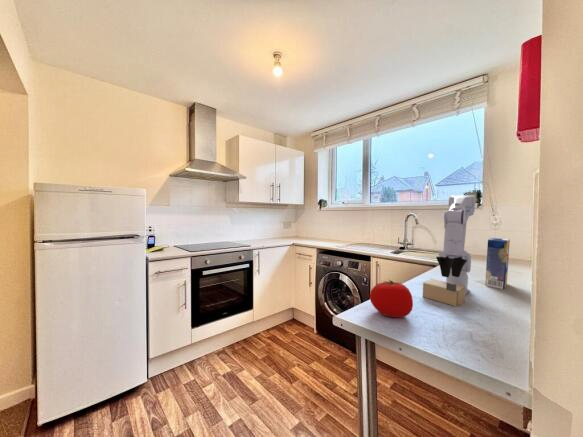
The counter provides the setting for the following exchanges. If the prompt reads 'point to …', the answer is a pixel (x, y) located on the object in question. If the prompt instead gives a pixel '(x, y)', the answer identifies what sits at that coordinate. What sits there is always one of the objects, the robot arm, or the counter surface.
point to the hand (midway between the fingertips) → (450, 276)
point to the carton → (443, 284)
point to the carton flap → (441, 293)
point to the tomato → (392, 299)
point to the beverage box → (497, 262)
